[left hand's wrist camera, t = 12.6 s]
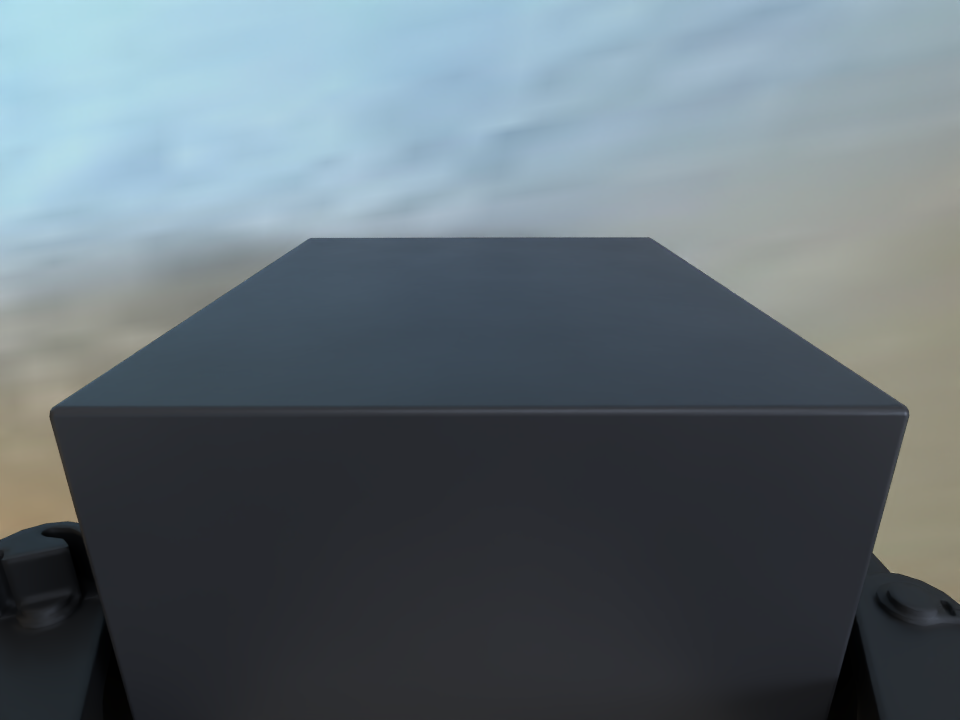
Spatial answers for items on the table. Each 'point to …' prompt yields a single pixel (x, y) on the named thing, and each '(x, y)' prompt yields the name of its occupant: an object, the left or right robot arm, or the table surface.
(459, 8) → the table surface
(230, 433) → the box
